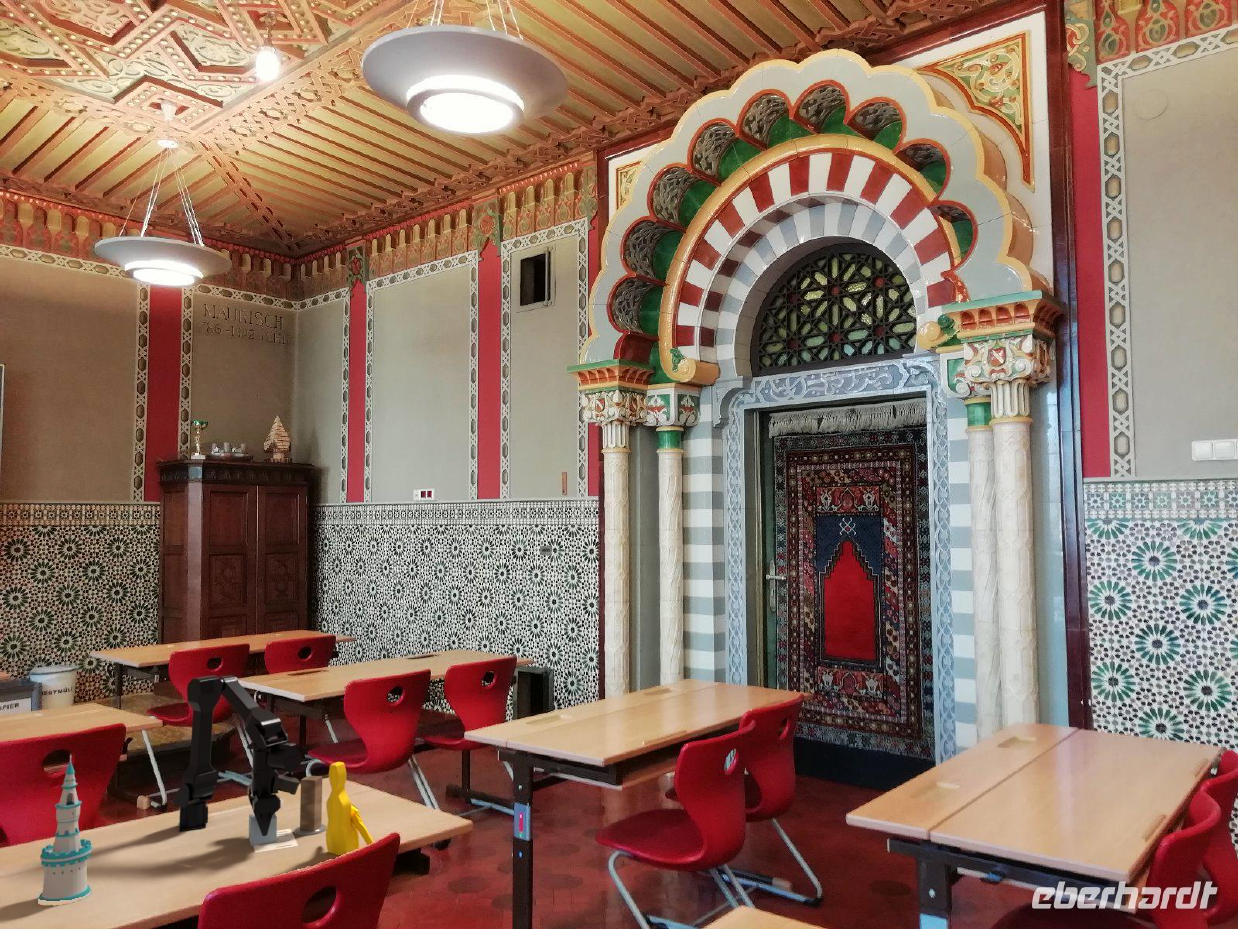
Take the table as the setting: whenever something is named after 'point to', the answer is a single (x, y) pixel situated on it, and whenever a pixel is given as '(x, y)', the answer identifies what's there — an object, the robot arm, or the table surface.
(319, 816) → the walnut block
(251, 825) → the grey cube
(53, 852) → the model tower
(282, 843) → the letter
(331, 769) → the figure statuette
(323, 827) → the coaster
